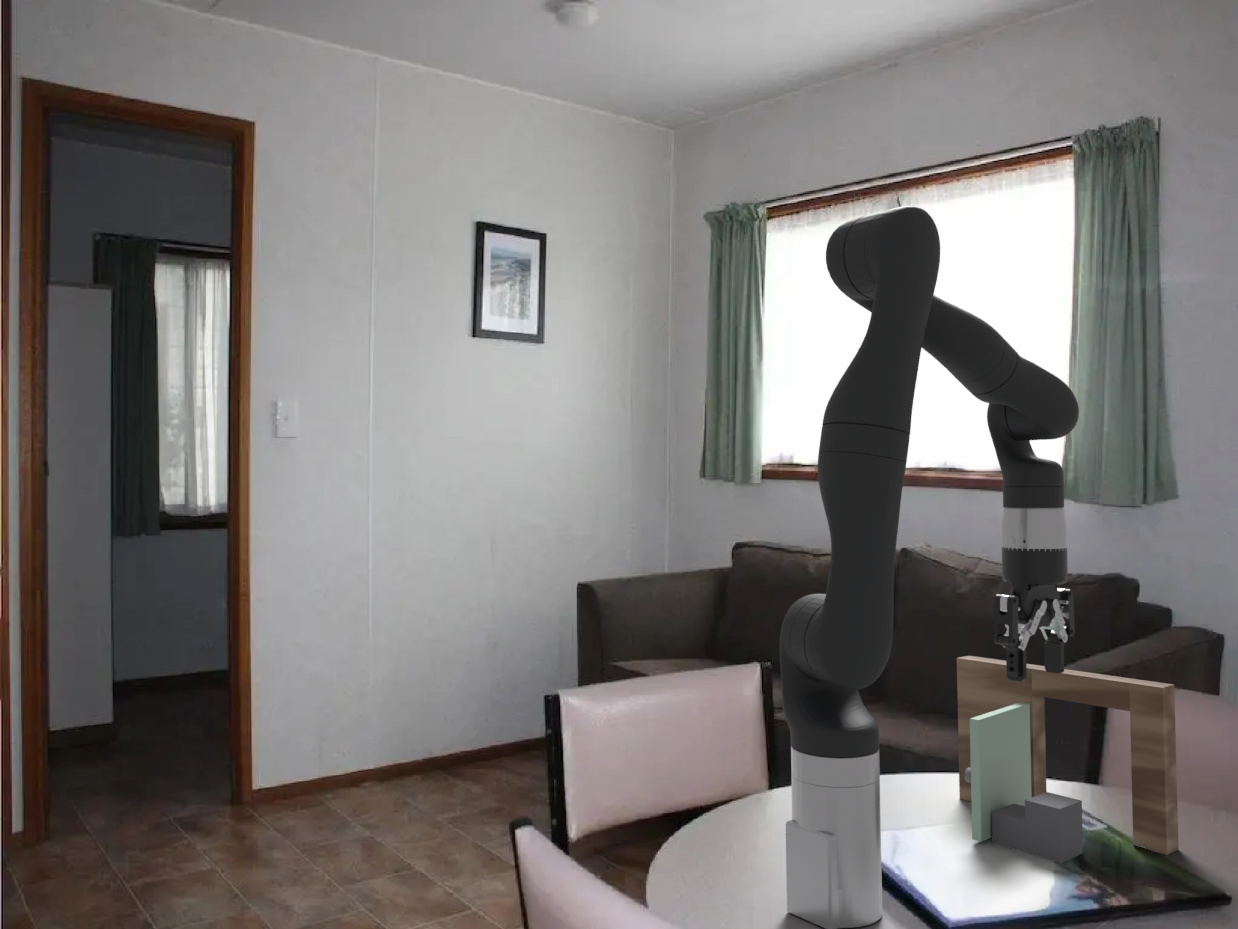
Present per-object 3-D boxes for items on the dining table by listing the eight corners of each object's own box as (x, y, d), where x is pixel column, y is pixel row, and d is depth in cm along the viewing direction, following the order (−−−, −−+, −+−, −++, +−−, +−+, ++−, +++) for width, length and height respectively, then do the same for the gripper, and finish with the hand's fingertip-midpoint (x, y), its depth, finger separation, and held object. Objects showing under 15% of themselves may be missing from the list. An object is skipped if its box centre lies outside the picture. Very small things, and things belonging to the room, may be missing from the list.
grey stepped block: (1061, 864, 119) (1059, 809, 119) (992, 843, 126) (991, 791, 126) (1082, 854, 122) (1081, 800, 122) (1014, 835, 129) (1013, 783, 129)
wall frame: (1167, 855, 121) (1162, 687, 121) (959, 798, 144) (956, 657, 144) (1178, 849, 123) (1174, 684, 123) (971, 794, 146) (969, 655, 146)
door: (963, 837, 127) (960, 717, 127) (1014, 813, 136) (1012, 700, 136) (981, 842, 125) (978, 720, 125) (1032, 817, 134) (1029, 703, 134)
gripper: (1030, 548, 117) (1032, 688, 117) (1093, 543, 126) (1095, 674, 126) (973, 545, 123) (975, 678, 123) (1036, 541, 132) (1039, 666, 132)
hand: (1036, 676), depth 124 cm, fingers open, 8 cm apart
